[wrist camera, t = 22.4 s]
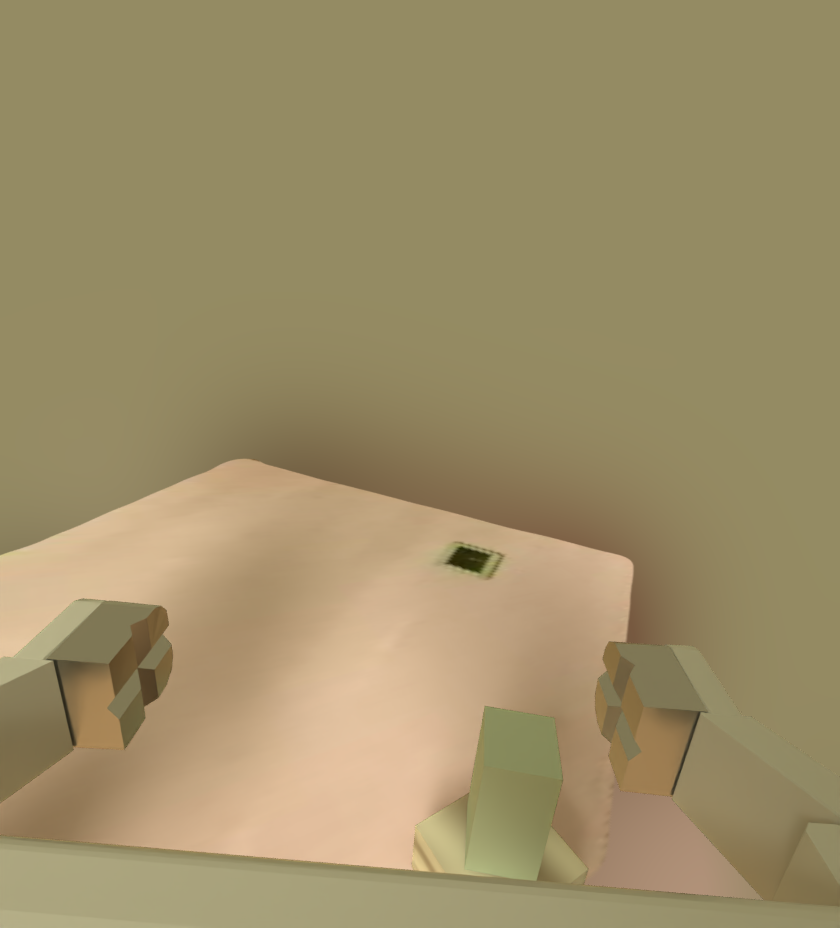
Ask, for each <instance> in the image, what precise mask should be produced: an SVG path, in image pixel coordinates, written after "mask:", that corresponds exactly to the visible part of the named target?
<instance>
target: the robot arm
mask: <svg viewBox="0 0 840 928" xmlns="http://www.w3.org/2000/svg"><path fill="white" fill-rule="evenodd" d="M168 626H169V621H168V615H167V610H166V609H165V608H163V607H162V606H157V605H147V604H137V603H128V602H118V601H105V600H94V599H80V600H76V601H74V602H73V603H72V604H70V605H69V606H68V607H67V608H66V609H65V610H64V611H63V612H62V613H61V614H60V615H58V616H57V617H56V618H55V619H54V620H53V621H52V622H51V623H50V624H49V625H48V626H46V627H45V628H44V629H43V630H42V631H41V632H40V633H39V634H38V635H37V636H36V637H35V638H33V639H32V640H31V641H30V642H29V643H28V644H27V645H26V646H25V647H24V648H23V649H21V650H20V651H19V652H18V653H17V654H16V655H15V656H14V657H2V658H0V803H1V802H3V801H4V800H5V799H7V798H8V797H9V796H11V795H12V794H14V793H15V792H16V791H18V790H19V789H21V788H22V787H23V786H25V785H26V784H27V783H29V782H30V781H32V780H33V779H34V778H36V777H37V776H39V775H40V774H41V773H43V772H44V771H45V770H47V769H48V768H50V767H51V766H52V765H54V764H55V763H57V762H58V761H59V760H61V759H62V758H63V757H65V756H66V755H68V754H69V753H70V752H72V751H73V750H74V749H73V747H77V748H96V749H116V750H125V748H126V747H127V745H128V744H129V742H130V741H131V739H132V738H133V736H134V735H135V733H136V732H137V730H138V729H139V727H140V726H141V724H142V723H143V721H144V719H145V711H144V706H146V705H148V704H149V703H151V702H153V701H154V700H156V699H157V698H159V696H160V695H161V693H162V691H163V690H164V688H165V687H166V685H167V682H168V679H169V676H170V673H171V670H172V661H173V652H172V645H171V643H170V642H169V641H168V640H167V639H166V638H165V637H164V636H163V633H164V631H165V630H166V629H167V627H168ZM603 662H604V664H605V667H606V669H607V671H606V672H605V673H604V674H603V675H602V676H601V677H599V678H598V681H597V686H596V691H595V711H596V717H597V722H598V725H599V729H600V732H601V734H602V735H603V736H604V737H605V738H606V739H607V740H608V741H609V742H611V747H610V751H609V755H608V756H609V759H610V762H611V765H612V768H613V771H614V774H615V777H616V780H617V782H618V785H619V788H620V791H625V792H634V793H643V794H653V795H662V796H670V797H672V800H673V801H674V802H675V803H676V804H677V806H678V807H679V808H680V809H681V810H682V811H683V812H684V813H685V814H686V815H687V816H688V818H689V819H690V820H691V821H692V822H693V823H694V824H695V825H696V826H697V827H698V829H699V830H700V831H701V832H702V833H703V834H704V835H705V836H706V837H707V838H708V839H709V840H710V842H711V843H712V844H713V845H714V846H715V847H716V848H717V849H718V850H719V852H720V853H721V854H722V855H723V856H724V857H725V858H726V859H727V860H728V861H729V862H730V864H731V865H732V866H733V867H734V868H735V869H736V870H737V871H738V872H739V873H740V874H741V875H742V877H743V878H744V879H745V880H746V881H747V882H748V883H749V884H750V885H751V887H752V888H753V889H754V890H755V891H756V892H757V893H758V894H759V895H760V896H761V897H762V899H763V900H755V899H743V898H732V897H720V896H708V895H696V894H685V893H673V892H661V891H649V890H639V889H627V888H616V887H603V886H592V885H581V884H569V883H557V882H545V881H534V880H522V879H510V878H499V877H487V876H475V875H464V874H452V873H440V872H428V871H417V870H405V869H393V868H382V867H370V866H358V865H347V864H335V863H323V862H311V861H300V860H288V859H276V858H265V857H253V856H241V855H230V854H218V853H206V852H195V851H183V850H171V849H159V848H148V847H136V846H124V845H113V844H101V843H89V842H77V841H66V840H54V839H42V838H30V837H19V836H7V835H0V928H840V777H839V776H838V775H836V774H835V773H833V772H832V771H831V770H829V769H827V768H826V767H825V766H823V765H822V764H820V763H819V762H817V761H816V760H814V759H813V758H812V757H810V756H809V755H807V754H806V753H804V752H803V751H801V750H800V749H798V748H797V747H795V746H794V745H792V744H791V743H790V742H788V741H787V740H785V739H784V738H782V737H781V736H779V735H778V734H776V733H775V732H773V731H772V730H771V729H769V728H768V727H766V726H764V725H763V724H762V723H760V722H758V721H757V720H756V719H754V718H753V717H750V716H742V714H741V713H740V711H739V710H738V708H737V707H736V705H735V704H734V702H733V701H732V699H731V698H730V696H729V695H728V693H727V692H726V690H725V689H724V687H723V686H722V684H721V683H720V681H719V680H718V678H717V676H716V675H715V674H714V672H713V670H712V669H711V668H710V666H709V664H708V663H707V662H706V660H705V658H704V657H703V655H702V654H701V652H700V651H699V650H698V649H697V648H695V647H694V646H683V645H652V644H638V643H624V642H611V641H609V643H608V644H607V646H606V648H605V651H604V655H603Z"/></svg>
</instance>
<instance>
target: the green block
mask: <svg viewBox="0 0 840 928" xmlns="http://www.w3.org/2000/svg"><path fill="white" fill-rule="evenodd" d="M562 782H563V776H562V769H561V762H560V755H559V747H558V740H557V733H556V726H555V719H554V718H553V717H547V716H541V715H535V714H529V713H523V712H518V711H512V710H506V709H500V708H494V707H488V706H485V708H484V713H483V719H482V725H481V730H480V736H479V741H478V747H477V753H476V758H475V764H474V769H473V775H472V780H471V786H470V792H469V797H468V803H467V824H466V847H465V869H466V870H471V871H476V872H481V873H486V874H491V875H496V876H501V877H506V878H511V879H522V880H534V881H537V877H538V873H539V869H540V866H541V862H542V858H543V854H544V850H545V847H546V843H547V839H548V835H549V831H550V828H551V824H552V820H553V816H554V812H555V809H556V805H557V801H558V797H559V793H560V790H561V786H562Z"/></svg>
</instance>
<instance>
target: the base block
mask: <svg viewBox="0 0 840 928" xmlns="http://www.w3.org/2000/svg"><path fill="white" fill-rule="evenodd" d="M468 797H469V793H468V794H467V795H465V796H463V797H462V798H460V799H458V800H457V801H455V802H453V803H452V804H450V805H449V806H447V807H445V808H444V809H442V810H440V811H439V812H437V813H435V814H434V815H432V816H430V817H429V818H427V819H425V820H424V821H422V822H420V823H419V824H417V825H415V836H414V847H413V858H412V868H413V870H417V871H428V872H440V873H452V874H464V875H475V876H487V877H499V878H506V877H501V876H496V875H491V874H486V873H481V872H476V871H471V870H466V869H465V847H466V824H467V803H468ZM587 872H588V868H587V867H586V866H585V865H584V863H583V862H582V861H581V860H580V859H579V858H578V856H577V855H576V854H575V853H574V852H573V851H572V849H571V848H570V847H569V846H568V845H567V844H566V842H565V841H564V840H563V839H562V838H561V837H560V836H559V834H558V833H557V832H556V831H555V830H554V829H553V827H552V826H551V828H550V831H549V835H548V839H547V843H546V847H545V850H544V854H543V858H542V862H541V866H540V869H539V873H538V877H537V881H545V882H557V883H569V884H581V885H584V883H585V879H586V875H587ZM510 879H511V878H510Z"/></svg>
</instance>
